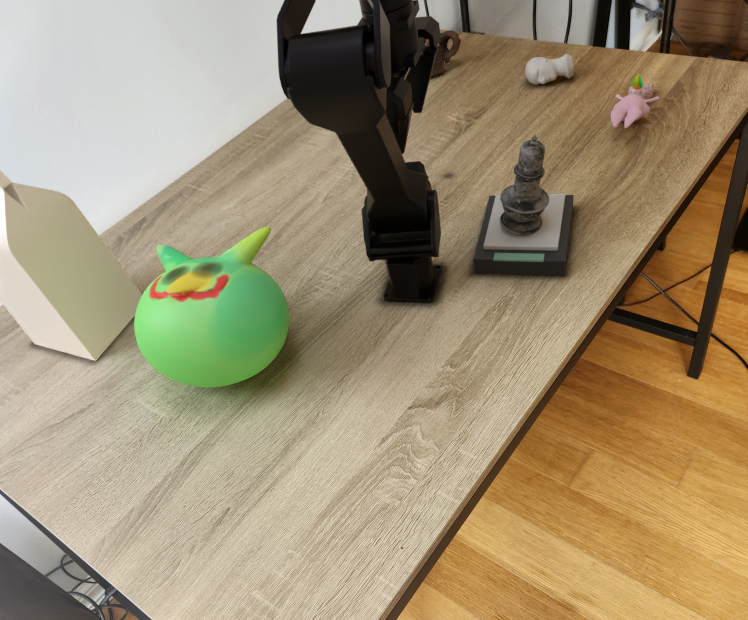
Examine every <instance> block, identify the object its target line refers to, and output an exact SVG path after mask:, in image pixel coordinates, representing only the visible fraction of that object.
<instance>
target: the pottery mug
mask: <svg viewBox="0 0 748 620" xmlns="http://www.w3.org/2000/svg"><path fill="white" fill-rule="evenodd" d="M440 35H441V39H440V41H439V44H438V51H437V55H436V58H435V62H434V66H433V70H432V74H431V77H434V76H437V75H439V74H443V73H445V64H446V65H448V64H450V61H451V58H453V57H454V56H456V55H457V53H459V50H460V47H461V42H462V39H461V38H460V37H459V36H460V35H459V32H457V31H455V30H446V31H443V32H440ZM450 40H452V45H451V47H450V49H449V48H448V44H449V41H450ZM426 42H427V45H429V39H426Z"/></svg>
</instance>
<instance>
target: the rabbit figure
mask: <svg viewBox="0 0 748 620" xmlns="http://www.w3.org/2000/svg"><path fill="white" fill-rule="evenodd" d="M654 92H655V85H654V81H652V82H651V83H650V84H649V85H648V84H644V83H643V81H642V75H641V73H638V74H637V75H636V76H635V77H634V79H633V81H632V83H631V86H630V87H629V88H628V90H627V95H625V96H622V95H620V94H618V93H617V94H615V98H616V99H618V100H619V101H618V102H617V103H616V104H615V105H614V106H613V108H612V110H611V112H610V121H611V125H612V127H613V128H614V129H615V128H617V127H618V125H619V124H620V123H621V122H622V121H623V122H624V125H623V126H624V127H623V128H624V129H628V128H629V127H630V126H631V125H632V124H633V123H634V122H636V121H638V120H640V119H642V118H643V117H645V116H646V115H648V114H649V113H650V111H651V108H650V106H649V105H648V104H649V103H650V104H651V103H654V102H656V101H659V100H660V96H654V97H653V94H654Z"/></svg>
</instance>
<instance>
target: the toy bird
mask: <svg viewBox="0 0 748 620" xmlns="http://www.w3.org/2000/svg"><path fill="white" fill-rule="evenodd" d="M271 232H272V228H271V227H269V226H263V227H261V228H260V229H257V230H255V231H254V232H252V233H251V234H249V235H248V236H246V237H244V238H243V239H241V240H240V241H239V242H238V243H236V244H234V245H233V246H231V247H230V248H229V249H227V250H226V251H224V252H223V253H221V254H220V255H218V256H206V257H197V258H193V257H191V256H189V255H188V254H186V253H184V252H183V251H180V250H178V249H176V248H174V247H173V246H171V245H168V244H163V243H160V244H157V245H156V247H155V252H156V255H157V257H158V259H159V261H160V263H161V265H162V267H163V269H164V272H162V273H161V274H160V275H158V276H157V277H156V278H155V279H153V280H152V281H151V283H150V284H149V285H148V286H146V288H145V290H144V291H143V293H142V296H141V298H140V300H139V303H138V306H137V309H136V313H135V316H134V321H133V324H134V325H133V327H134V328H133V329H134V336H135V340H136V344H137V346H138V349H139V351H140V353H141V355H142V357H143V358H144V359H145V360H146V362H147V363H148V364H149V365H150V366H151V367H152V368H153V369H154V370H155V371H157V372H158V373H159V374H160V375H163V376H164V377H166V378H168V379H169V380H171V381H173V382H177V383H179V384H182V385H187V386H192V387H197V388H219V387H220V388H221V387H225V386H230V385H231V386H232V385H235V384H237V383H240V382H243V381H245V380H246V381H247V379H250V378H252V377H254V376H256V375H257V374H259V373H260V372H262V371H263V370H265V369H266V368H267V367H268V366H270V364H271V363H272V362H274V360H275V359H276V358H277V356H278V355H279V354H280V352H281V350H282V349H283V347H284V345H285V343H286V340H287V336H288V333H289V327H290V311H289V310H290V309H289V306H288V305H289V304H288V301H287V299H286V296H285V293H284V291H283V290H282V288H281V286H280V285H279V283H278V282H277V281H276V279H274V277H273V276H271V275H270V273H268V272H267V271H266V270H264V269H263V268H262V267H259V266H258V265H256V264H254V263H253V261H254V259H255V257H256V256H257V254H258V253H259V252H260V250H261V249H262V247H263V246H264V244H265V243H266V242H267V240H268V238H269V236H270V235H271Z"/></svg>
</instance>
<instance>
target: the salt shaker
mask: <svg viewBox="0 0 748 620" xmlns="http://www.w3.org/2000/svg"><path fill="white" fill-rule="evenodd" d="M518 154H519V155H518V160H517V164H516V165H515V166H514V168H513V174H514V176H515V177H514V182H513V184H511V185H509V186H506V187H505V188H504V189H503V190H502V191H501V193H500V194H501V197H500V200H501V202H502V206H503V209H504V211H505V212H504V213H502V215H501V217H500V224H501V226H502V227H503V228H504V229H505V230H507V231H508V232H510V233H513V234H517V235H528V234H532V233H534V232H536V231H538V230H539V229H540V228H541V226H542V218H541V216H540V215H541V214H542V212H543V211H544V209H545V208H546V207H547V206H548V203H549V196H548V194H549V193H548V192H547V191H546V190H545V189H544V188H542V187H541V180H542V178H543V177H544V176H545V173H546V169H545V168H544V160H545V155H546V147H545V145H544V143H542V141H540V140H538V136H537V135H536V134H534V135H533V136H531V138H530V139H528V140H525V141H524V142H522V144H521V145H520V147H519V153H518Z"/></svg>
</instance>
